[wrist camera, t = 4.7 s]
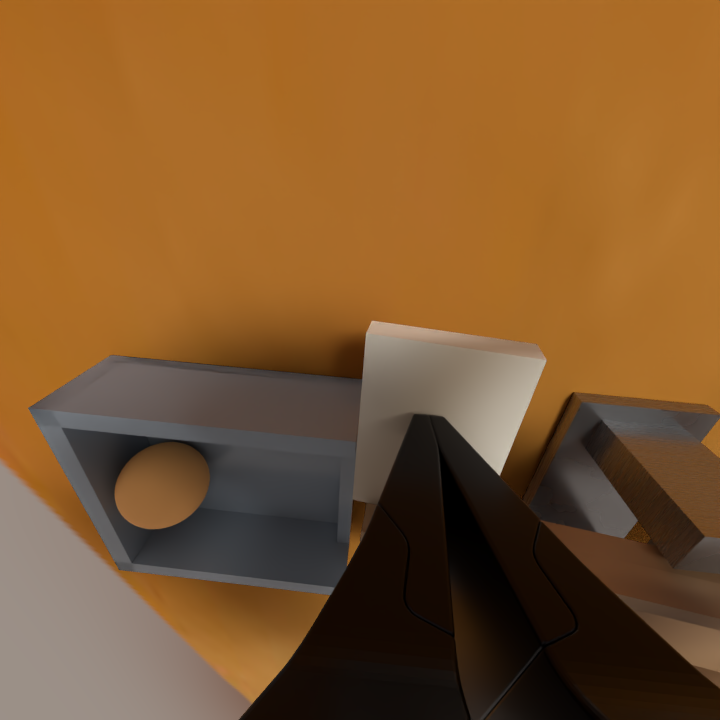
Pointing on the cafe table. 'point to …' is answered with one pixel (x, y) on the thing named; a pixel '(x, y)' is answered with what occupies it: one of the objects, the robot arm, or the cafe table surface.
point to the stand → (635, 475)
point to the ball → (162, 485)
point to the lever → (493, 442)
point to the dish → (218, 466)
